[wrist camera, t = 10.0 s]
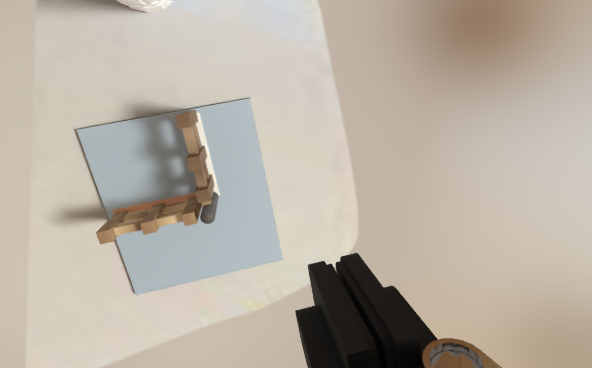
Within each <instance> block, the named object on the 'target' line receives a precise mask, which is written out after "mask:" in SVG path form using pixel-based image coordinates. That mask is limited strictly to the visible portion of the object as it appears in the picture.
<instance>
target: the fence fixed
mask: <svg viewBox="0 0 592 368" xmlns="http://www.w3.org/2000/svg"><path fill="white" fill-rule="evenodd" d="M175 120H176V124H177V127H178V129H182V130H183V134H184V138H185V142H186V145H187V149H188V153H189V155H188V156H187V158H186V160H187V164H188V168H189V171H191V170H193V171H194V175H195V179H196V182H197V188H196V191H195V193H196V197H197V201H198V203H202V205H203V208H202V211H201V215H200V219H201V221H202V222H203V223H205V224H210V223H212V222H213V221H214V220H215V215H216V209H217V203H218V194H217V193H216V192H214V191H213V189H214V181H213V177H212V175H209V173H208V169H207V165H206V158H207V153H206V149H205V146H202V145H201V141H200V137H199V134H198V130H197V126H196V123H197V122H198V117H197V114H196V110H194V111H188V112H184V113H181V114H179V115H176V116H175Z"/></svg>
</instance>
